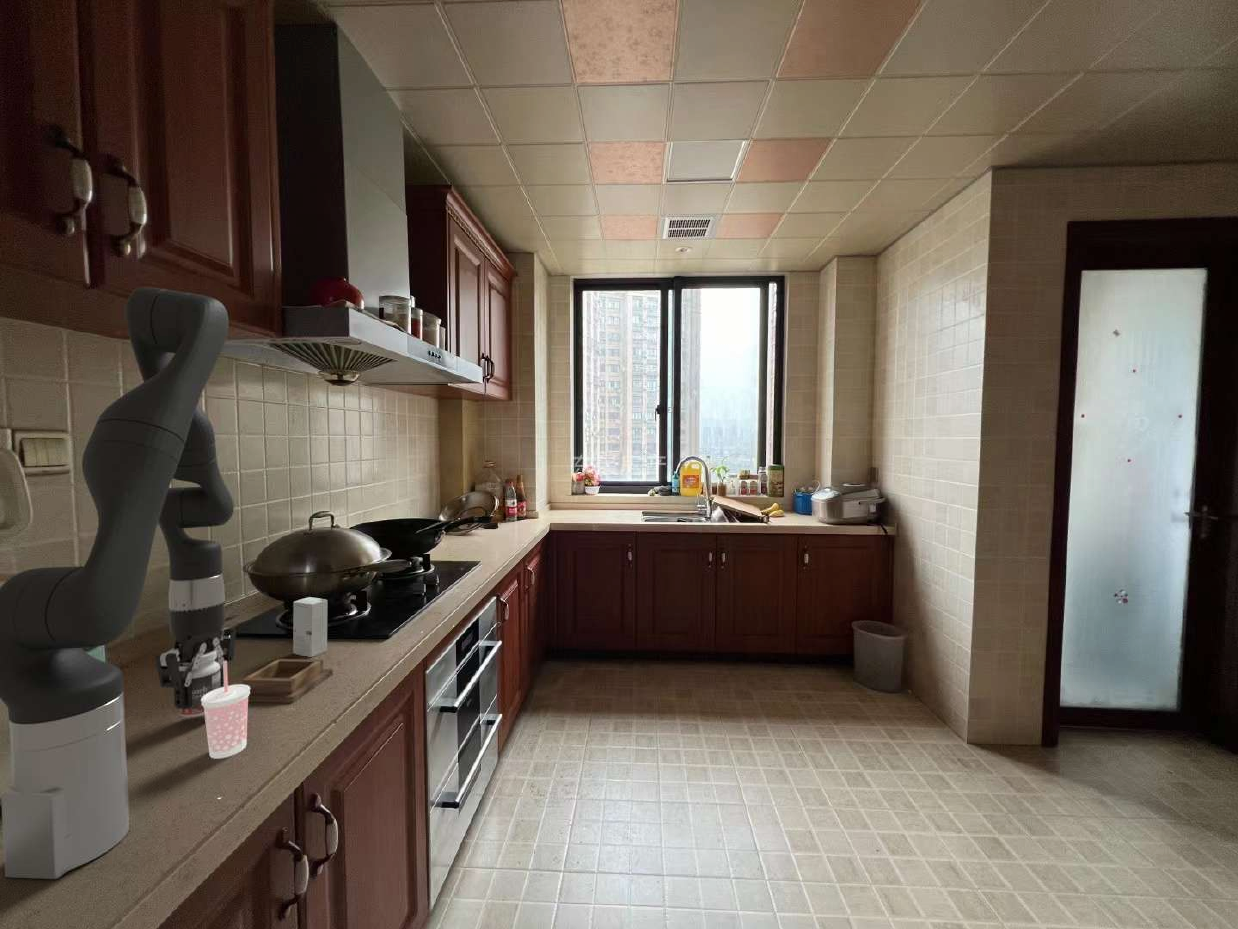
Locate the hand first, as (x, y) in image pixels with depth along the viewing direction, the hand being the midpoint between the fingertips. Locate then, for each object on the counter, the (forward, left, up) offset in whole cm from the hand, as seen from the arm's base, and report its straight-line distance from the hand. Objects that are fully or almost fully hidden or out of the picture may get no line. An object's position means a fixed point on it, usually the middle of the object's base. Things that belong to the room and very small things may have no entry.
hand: (200, 698), depth 91 cm
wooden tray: (+12, -6, -4) cm, 14 cm away
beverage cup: (-9, -12, -4) cm, 15 cm away
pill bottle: (0, 0, -2) cm, 2 cm away
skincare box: (+29, 0, -4) cm, 30 cm away
